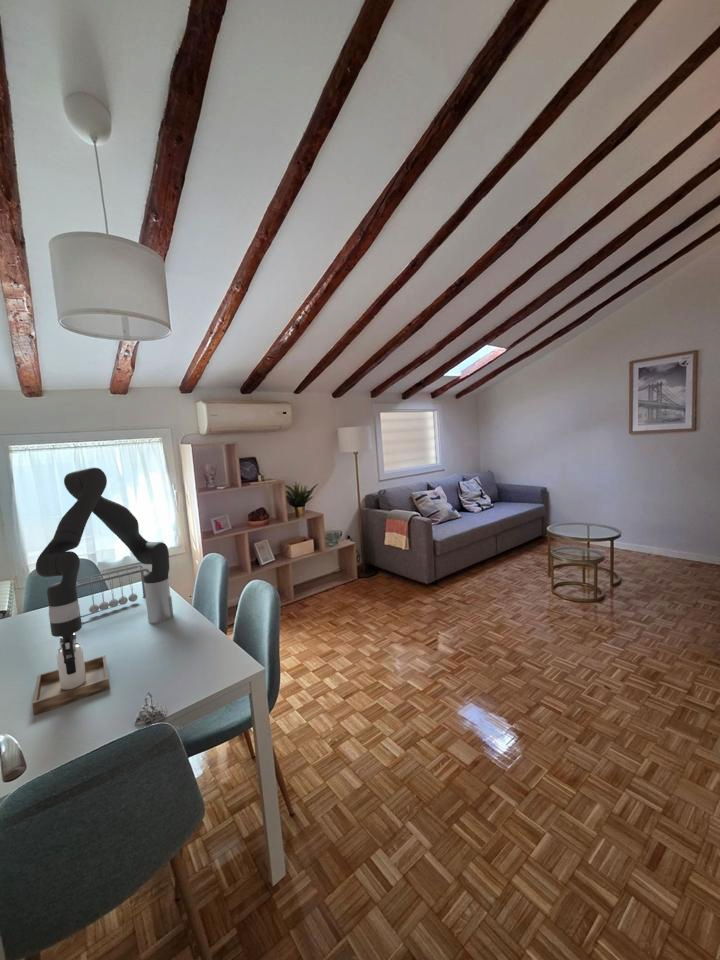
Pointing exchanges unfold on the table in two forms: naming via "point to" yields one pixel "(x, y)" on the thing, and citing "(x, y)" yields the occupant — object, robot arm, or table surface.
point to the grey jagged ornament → (150, 712)
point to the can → (76, 678)
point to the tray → (53, 696)
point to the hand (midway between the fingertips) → (71, 667)
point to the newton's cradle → (113, 602)
